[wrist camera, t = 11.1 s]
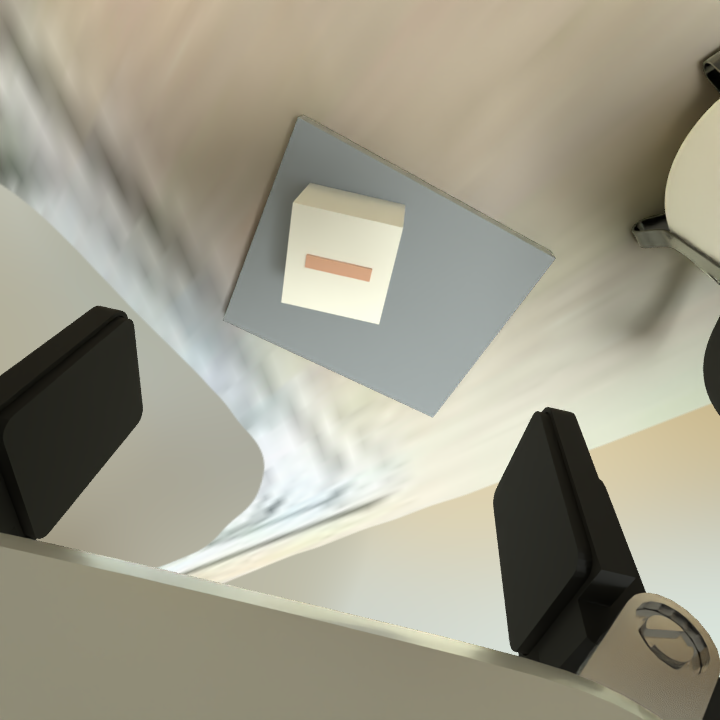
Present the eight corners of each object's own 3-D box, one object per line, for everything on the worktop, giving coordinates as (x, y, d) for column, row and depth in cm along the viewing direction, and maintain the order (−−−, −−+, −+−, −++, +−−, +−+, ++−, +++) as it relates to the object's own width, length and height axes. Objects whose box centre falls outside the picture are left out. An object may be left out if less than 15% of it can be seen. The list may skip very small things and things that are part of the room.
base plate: (550, 250, 33) (555, 258, 32) (432, 406, 42) (432, 417, 40) (303, 114, 30) (297, 117, 29) (229, 311, 39) (222, 320, 37)
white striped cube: (405, 204, 31) (403, 228, 27) (383, 292, 35) (378, 325, 30) (310, 182, 31) (291, 203, 27) (297, 272, 35) (280, 303, 30)
